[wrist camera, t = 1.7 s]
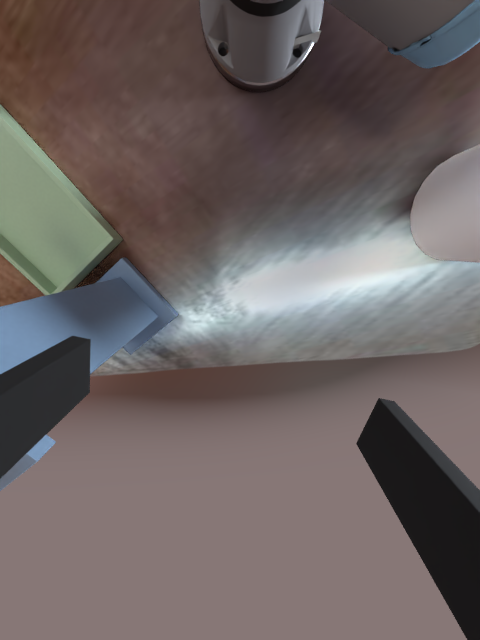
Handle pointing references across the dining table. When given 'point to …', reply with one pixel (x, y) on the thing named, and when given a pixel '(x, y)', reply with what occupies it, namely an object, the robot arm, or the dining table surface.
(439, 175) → the canister
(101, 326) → the stand
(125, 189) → the dining table surface
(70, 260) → the tray
